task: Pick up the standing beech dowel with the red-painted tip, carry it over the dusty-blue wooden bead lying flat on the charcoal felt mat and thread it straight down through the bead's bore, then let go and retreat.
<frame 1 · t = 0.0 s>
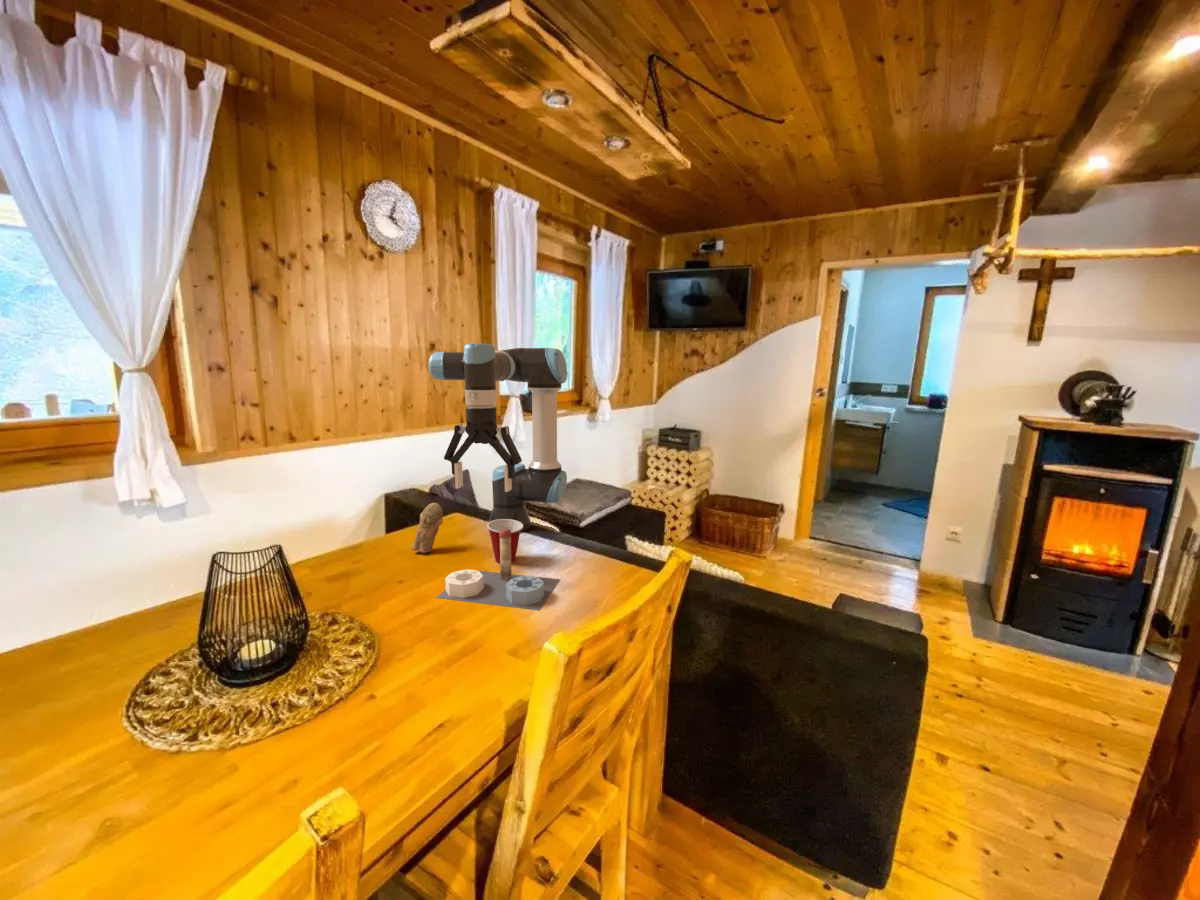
hand: (483, 488, 128), 28 cm above the table, fingers open, 13 cm apart
bead blue: (525, 596, 129), resting on felt mat
plastic cup: (506, 562, 152), on the table
bead white: (464, 589, 132), resting on felt mat
figurine: (429, 551, 159), on the table
felt mat: (500, 589, 133), on the table
dowel: (506, 578, 139), resting on felt mat
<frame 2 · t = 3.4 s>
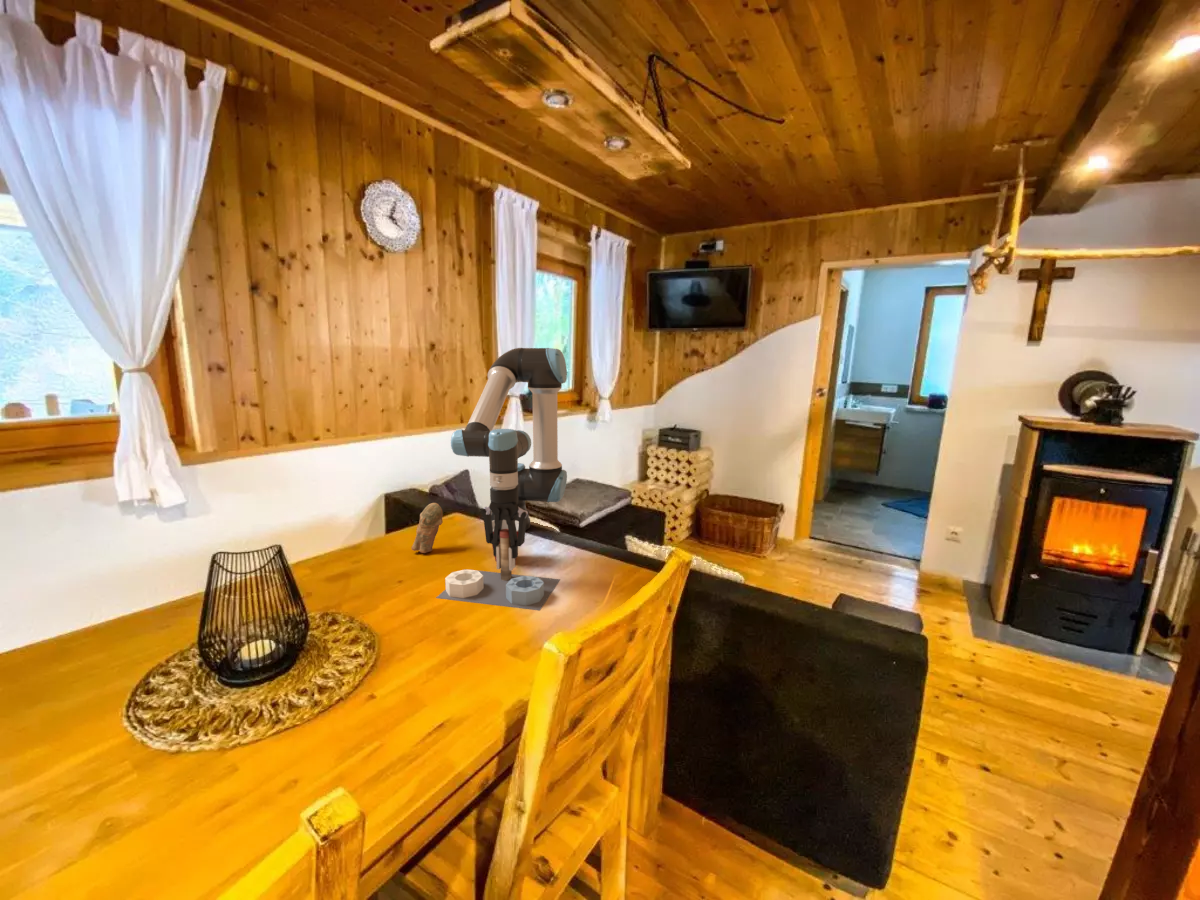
hand: (505, 567, 139), 4 cm above the table, fingers closed on dowel, 3 cm apart
dowel: (506, 578, 139), resting on felt mat, touching gripper
everything else where it was.
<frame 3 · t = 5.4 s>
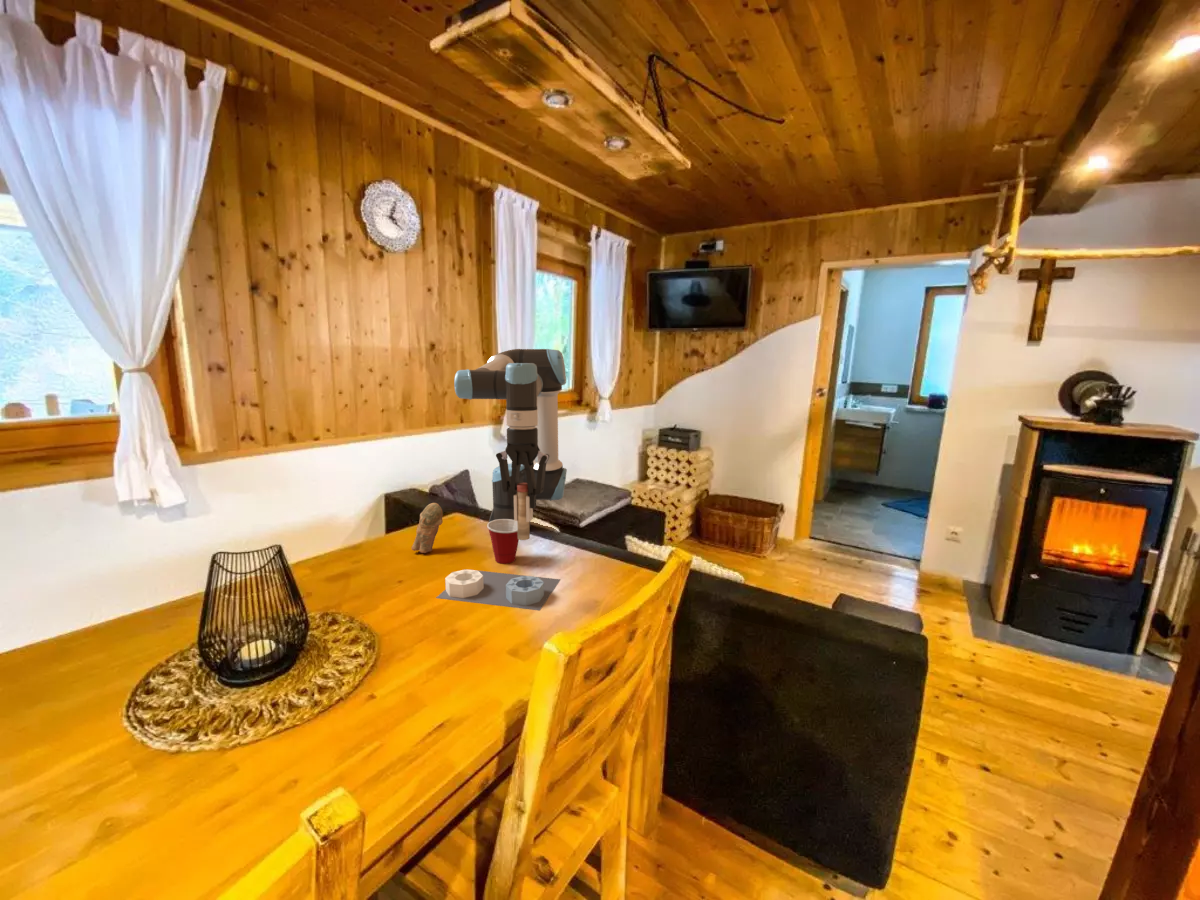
hand: (523, 519, 125), 21 cm above the table, fingers closed on dowel, 2 cm apart
dowel: (523, 538, 126), point 16 cm above the table, touching gripper
everything else where it was.
when the fingers open (6 cm above the table, at t = 7.7 s): dowel stays where it is, resting on felt mat.
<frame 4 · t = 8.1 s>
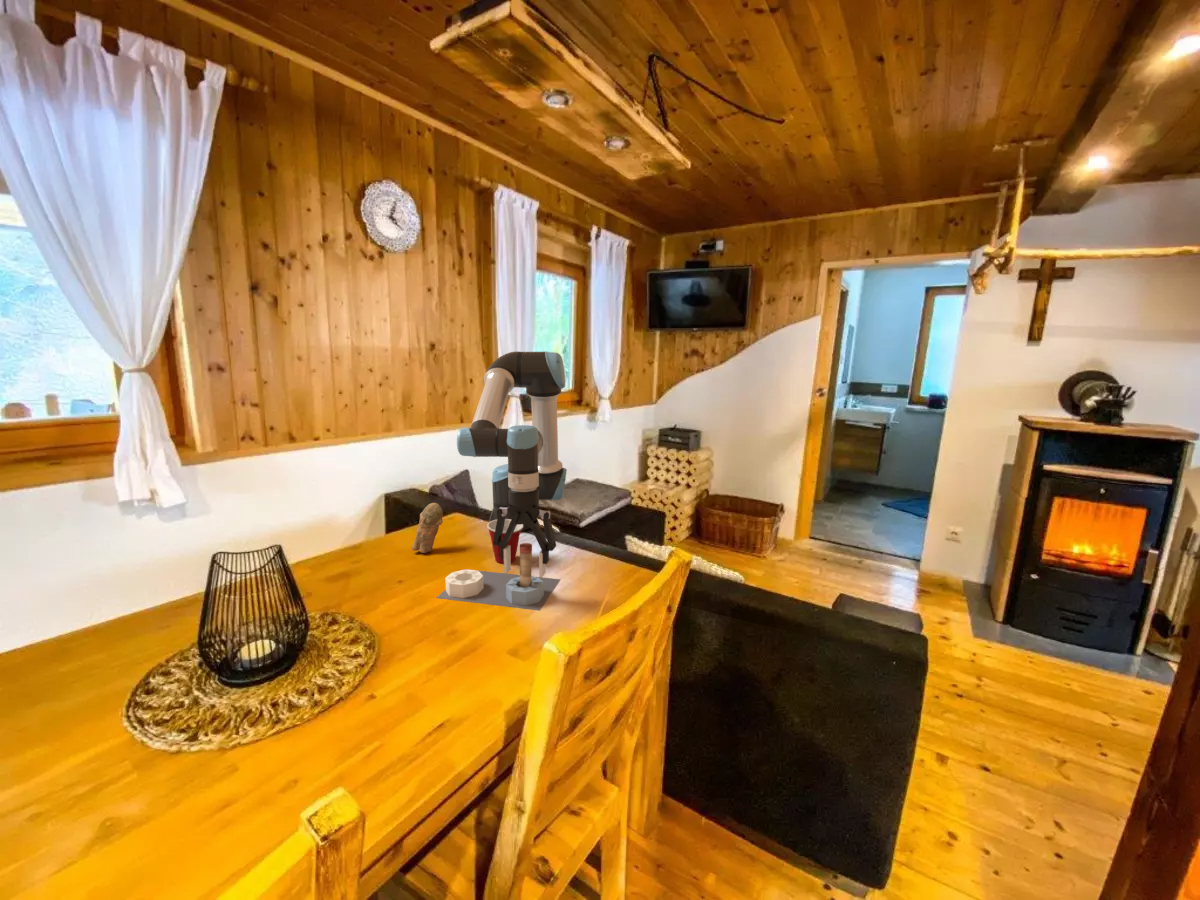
hand: (524, 573, 128), 7 cm above the table, fingers open, 9 cm apart
dowel: (525, 596, 129), resting on felt mat
everything else where it was.
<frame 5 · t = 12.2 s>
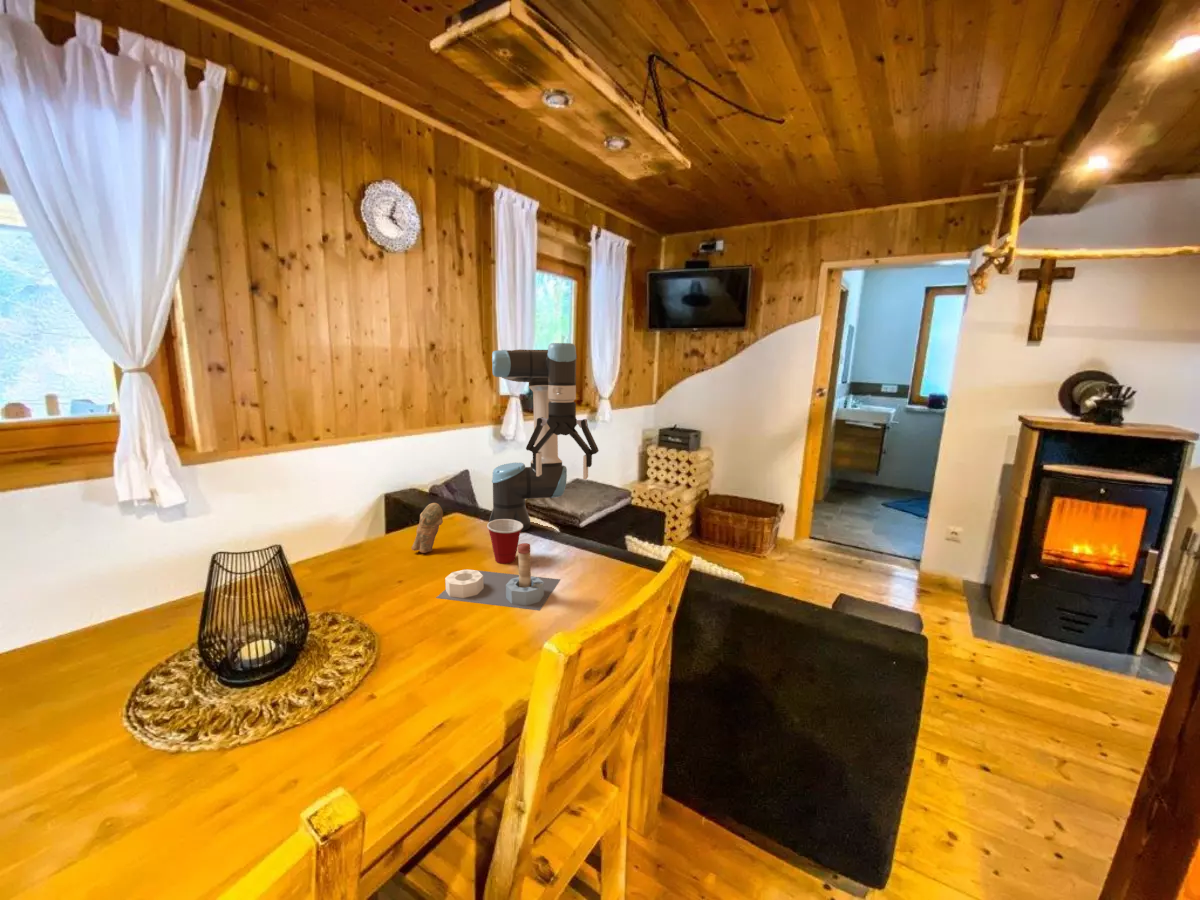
hand: (562, 476, 139), 29 cm above the table, fingers open, 13 cm apart
nothing on the table moved.
at the end: dowel 0.0 cm off-centre on the bead blue, point 0.0 cm above the bead blue's base; dowel tilted 1°; the gripper is holding nothing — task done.
